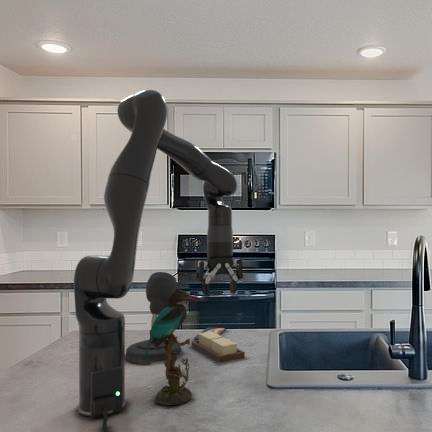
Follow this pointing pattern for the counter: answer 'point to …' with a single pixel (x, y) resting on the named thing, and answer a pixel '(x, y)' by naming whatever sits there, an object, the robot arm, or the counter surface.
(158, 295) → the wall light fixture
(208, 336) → the pad
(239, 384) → the counter surface
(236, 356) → the frame
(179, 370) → the sculpture
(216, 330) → the smartphone
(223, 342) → the pad
